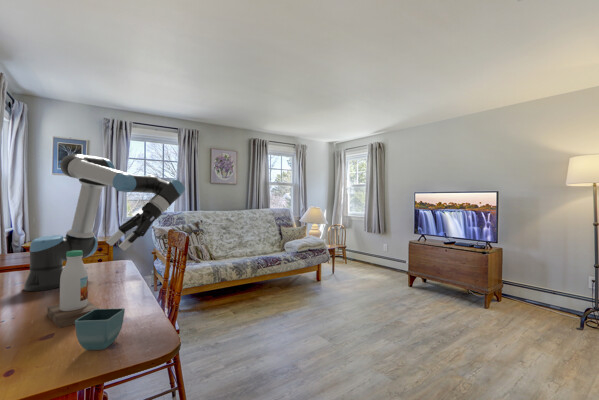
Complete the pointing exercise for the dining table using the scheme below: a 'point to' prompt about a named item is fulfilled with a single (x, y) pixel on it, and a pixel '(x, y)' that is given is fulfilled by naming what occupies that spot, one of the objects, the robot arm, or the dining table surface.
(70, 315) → the brown flat block
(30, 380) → the dining table surface
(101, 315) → the flower pot
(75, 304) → the milk bottle
